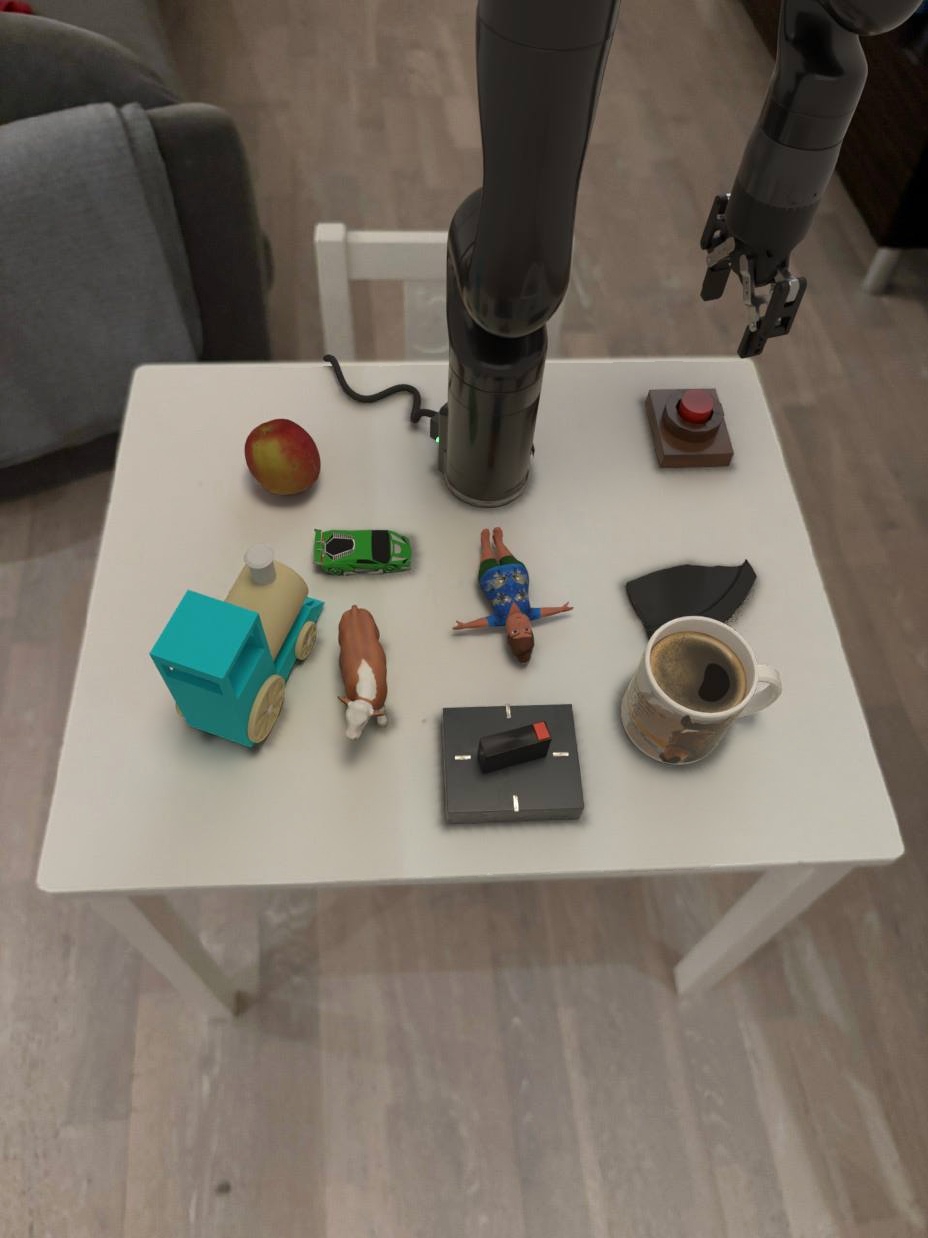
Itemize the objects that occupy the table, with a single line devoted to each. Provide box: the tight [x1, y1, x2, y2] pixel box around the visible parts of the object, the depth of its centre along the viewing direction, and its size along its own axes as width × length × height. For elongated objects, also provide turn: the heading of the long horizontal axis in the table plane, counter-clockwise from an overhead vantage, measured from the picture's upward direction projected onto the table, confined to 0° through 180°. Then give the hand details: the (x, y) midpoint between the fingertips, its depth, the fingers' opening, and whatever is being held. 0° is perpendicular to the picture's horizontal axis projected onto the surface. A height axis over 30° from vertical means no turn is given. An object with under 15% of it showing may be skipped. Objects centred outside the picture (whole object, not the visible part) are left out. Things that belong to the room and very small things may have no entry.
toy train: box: [148, 543, 325, 748], centre depth 81 cm, size 8×17×15 cm, turn 161°
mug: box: [620, 616, 783, 766], centre depth 82 cm, size 10×12×11 cm
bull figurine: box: [337, 604, 389, 741], centre depth 83 cm, size 4×13×8 cm, turn 5°
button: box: [678, 390, 714, 424], centre depth 101 cm, size 4×4×2 cm
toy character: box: [452, 526, 575, 664], centre depth 90 cm, size 12×5×15 cm
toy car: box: [312, 528, 413, 576], centre depth 94 cm, size 10×5×2 cm, turn 94°
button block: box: [644, 387, 735, 469], centre depth 103 cm, size 10×8×4 cm
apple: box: [243, 418, 322, 496], centre depth 96 cm, size 8×8×8 cm
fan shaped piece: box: [625, 558, 758, 636], centre depth 93 cm, size 8×14×2 cm, turn 108°
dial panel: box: [441, 703, 585, 824], centre depth 82 cm, size 12×10×3 cm
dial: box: [477, 721, 552, 774], centre depth 79 cm, size 6×2×4 cm, turn 107°
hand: (728, 325), depth 91 cm, fingers open, 8 cm apart
